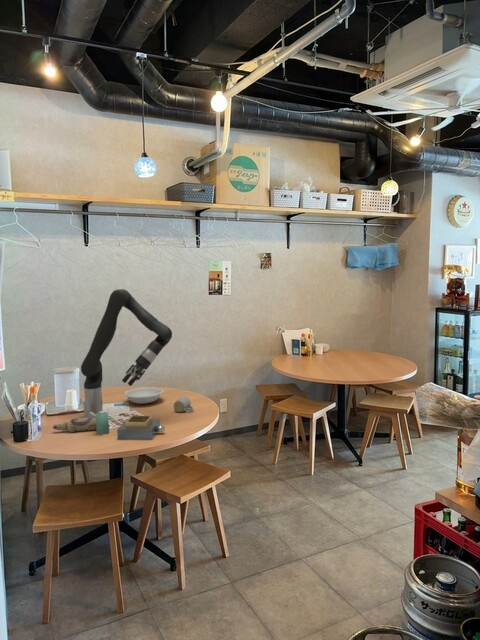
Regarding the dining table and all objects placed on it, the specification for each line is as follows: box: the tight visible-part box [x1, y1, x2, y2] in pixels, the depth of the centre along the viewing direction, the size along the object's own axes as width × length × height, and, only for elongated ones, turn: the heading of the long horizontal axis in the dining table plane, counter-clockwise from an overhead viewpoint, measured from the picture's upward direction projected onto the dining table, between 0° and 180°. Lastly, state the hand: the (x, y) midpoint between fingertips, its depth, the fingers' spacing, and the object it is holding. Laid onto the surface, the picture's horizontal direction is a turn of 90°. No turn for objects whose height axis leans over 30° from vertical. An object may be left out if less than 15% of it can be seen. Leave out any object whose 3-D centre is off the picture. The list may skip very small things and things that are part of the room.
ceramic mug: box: [173, 395, 194, 413], centre depth 268 cm, size 11×8×8 cm
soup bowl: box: [123, 386, 164, 405], centre depth 288 cm, size 24×24×7 cm
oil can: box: [90, 410, 110, 436], centre depth 233 cm, size 9×6×12 cm
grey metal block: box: [116, 415, 166, 440], centre depth 232 cm, size 21×16×8 cm
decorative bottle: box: [52, 417, 97, 433], centre depth 239 cm, size 26×8×7 cm, turn 102°
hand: (126, 383), depth 241 cm, fingers open, 8 cm apart
